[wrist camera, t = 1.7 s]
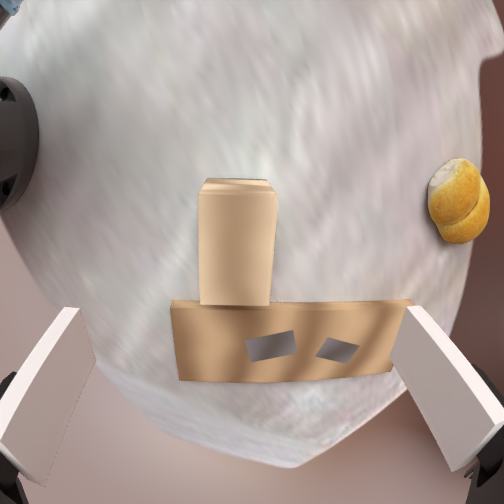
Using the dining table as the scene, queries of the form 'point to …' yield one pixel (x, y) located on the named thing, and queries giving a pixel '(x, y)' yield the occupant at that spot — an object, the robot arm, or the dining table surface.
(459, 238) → the bread roll
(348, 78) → the dining table surface
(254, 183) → the block
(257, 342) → the oak plank
